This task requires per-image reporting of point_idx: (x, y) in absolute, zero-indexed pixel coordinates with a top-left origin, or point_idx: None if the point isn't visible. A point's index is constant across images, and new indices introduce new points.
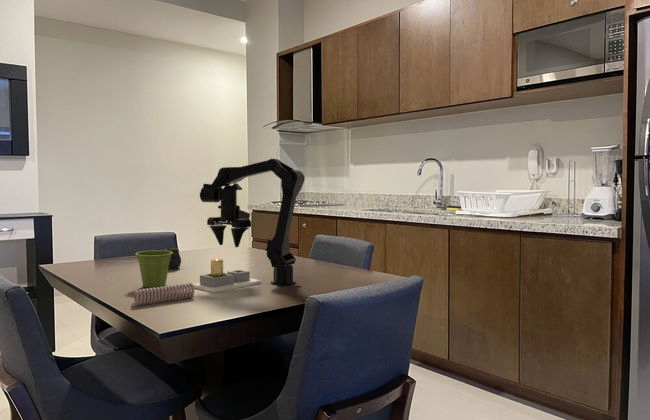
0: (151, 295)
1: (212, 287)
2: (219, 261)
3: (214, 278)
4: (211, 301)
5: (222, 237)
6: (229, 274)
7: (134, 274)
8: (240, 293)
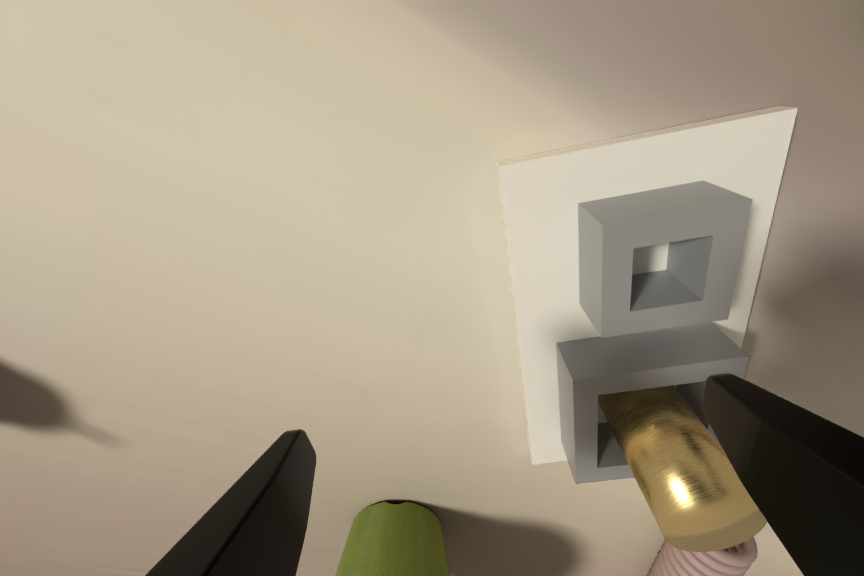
0: None
1: None
2: (760, 522)
3: None
4: None
5: (242, 552)
6: (703, 369)
7: (87, 516)
8: (851, 351)
